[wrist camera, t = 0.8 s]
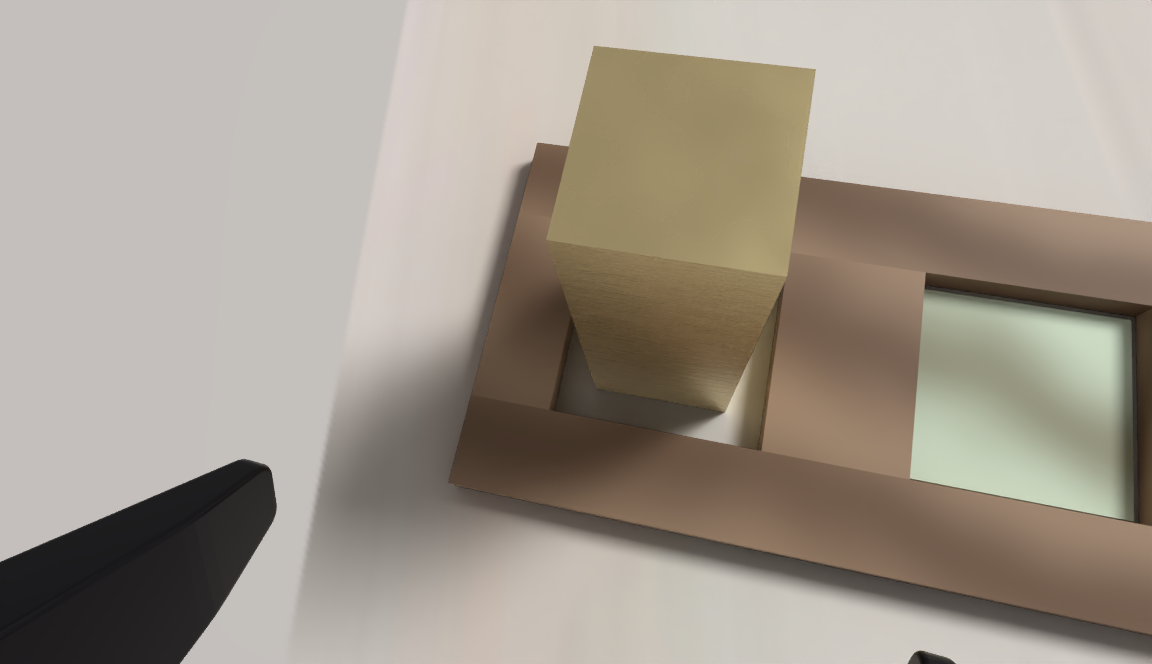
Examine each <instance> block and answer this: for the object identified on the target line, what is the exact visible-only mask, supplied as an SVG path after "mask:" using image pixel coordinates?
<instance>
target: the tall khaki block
mask: <svg viewBox="0 0 1152 664" xmlns="http://www.w3.org/2000/svg"><path fill="white" fill-rule="evenodd" d="M815 71H816V69H807V68H798V67H788V66H779V65H770V64H760V63H751V62H741V61H732V60H722V59H713V58H703V57H694V56H684V55H675V54H665V53H656V52H646V51H637V50H627V49H618V48H609V47H599V46H594V48H593V52H592V56H591V60H590V64H589V68H588V72H587V76H586V80H585V85H584V89H583V93H582V97H581V101H580V105H579V109H578V113H577V117H576V121H575V125H574V129H573V133H572V137H571V141H570V145H569V149H568V153H567V157H566V161H565V165H564V170H563V174H562V178H561V182H560V186H559V190H558V194H557V198H556V202H555V206H554V210H553V214H552V218H551V222H550V226H549V230H548V234H547V238H546V241H547V244H548V247H549V250H550V253H551V256H552V259H553V262H554V265H555V268H556V271H557V274H558V277H559V280H560V283H561V286H562V289H563V292H564V295H565V298H566V301H567V304H568V307H569V310H570V313H571V316H572V319H573V322H574V325H575V328H576V331H577V334H578V337H579V340H580V343H581V346H582V349H583V352H584V355H585V358H586V361H587V364H588V367H589V370H590V373H591V376H592V379H593V382H594V385H595V388H598V389H603V390H608V391H614V392H619V393H624V394H630V395H635V396H641V397H646V398H651V399H657V400H662V401H667V402H673V403H678V404H684V405H689V406H694V407H700V408H705V409H710V410H716V411H721V412H725V411H726V409H727V407H728V404H729V402H730V400H731V398H732V396H733V393H734V391H735V389H736V387H737V385H738V383H739V380H740V378H741V376H742V374H743V372H744V370H745V367H746V365H747V363H748V361H749V359H750V357H751V354H752V352H753V350H754V348H755V346H756V343H757V341H758V339H759V337H760V335H761V333H762V330H763V328H764V326H765V324H766V322H767V320H768V317H769V315H770V313H771V311H772V309H773V307H774V304H775V302H776V300H777V298H778V296H779V293H780V291H781V289H782V287H783V285H784V283H785V280H786V278H787V274H788V267H789V260H790V253H791V245H792V238H793V231H794V223H795V216H796V209H797V202H798V194H799V187H800V180H801V173H802V165H803V158H804V151H805V144H806V136H807V129H808V122H809V114H810V107H811V100H812V93H813V85H814V78H815Z"/></svg>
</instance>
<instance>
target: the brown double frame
mask: <svg viewBox="0 0 1152 664" xmlns="http://www.w3.org/2000/svg"><path fill="white" fill-rule="evenodd" d="M568 149H569V147H567V146H560V145H552V144H544V143H537V146H536V150H535V154H534V158H533V161H532V165H531V169H530V173H529V177H528V180H527V184H526V188H525V192H524V196H523V199H522V203H521V207H520V211H519V215H518V219H517V222H516V226H515V230H514V234H513V238H512V241H511V245H510V249H509V253H508V257H507V260H506V264H505V268H504V272H503V276H502V279H501V283H500V287H499V291H498V295H497V299H496V302H495V306H494V310H493V314H492V318H491V321H490V325H489V329H488V333H487V337H486V340H485V344H484V348H483V352H482V356H481V359H480V363H479V367H478V371H477V375H476V379H475V382H474V386H473V390H472V394H471V398H470V401H469V405H468V409H467V413H466V417H465V420H464V424H463V428H462V432H461V436H460V439H459V443H458V447H457V451H456V455H455V459H454V462H453V466H452V470H451V474H450V478H449V481H448V483H451V484H453V485H456V486H460V487H465V488H469V489H474V490H478V491H483V492H488V493H492V494H497V495H502V496H506V497H511V498H515V499H520V500H525V501H529V502H534V503H539V504H543V505H548V506H553V507H557V508H562V509H566V510H571V511H576V512H580V513H585V514H590V515H594V516H599V517H603V518H608V519H613V520H617V521H622V522H627V523H631V524H636V525H640V526H645V527H650V528H654V529H659V530H664V531H668V532H673V533H677V534H682V535H687V536H691V537H696V538H701V539H705V540H710V541H714V542H719V543H724V544H728V545H733V546H738V547H742V548H747V549H751V550H756V551H761V552H765V553H770V554H775V555H779V556H784V557H788V558H793V559H798V560H802V561H807V562H812V563H816V564H821V565H826V566H830V567H835V568H839V569H844V570H849V571H853V572H858V573H863V574H867V575H872V576H876V577H881V578H886V579H890V580H895V581H900V582H904V583H909V584H913V585H918V586H923V587H927V588H932V589H937V590H941V591H946V592H950V593H955V594H960V595H964V596H969V597H974V598H978V599H983V600H987V601H992V602H997V603H1001V604H1006V605H1011V606H1015V607H1020V608H1024V609H1029V610H1034V611H1038V612H1043V613H1048V614H1052V615H1057V616H1061V617H1066V618H1071V619H1075V620H1080V621H1085V622H1089V623H1094V624H1098V625H1103V626H1108V627H1112V628H1117V629H1122V630H1126V631H1131V632H1136V633H1140V634H1145V635H1149V636H1152V222H1145V221H1138V220H1130V219H1122V218H1114V217H1107V216H1099V215H1091V214H1084V213H1076V212H1068V211H1060V210H1053V209H1045V208H1037V207H1030V206H1022V205H1014V204H1007V203H999V202H991V201H983V200H976V199H968V198H960V197H953V196H945V195H937V194H929V193H922V192H914V191H906V190H899V189H891V188H883V187H876V186H868V185H860V184H852V183H845V182H837V181H829V180H822V179H814V178H806V177H801V180H800V187H799V194H798V202H797V209H796V216H795V223H794V231H793V238H792V245H791V253H790V260H789V267H788V274H787V278H786V280H785V283H784V285H783V287H782V289H781V291H780V296H779V303H778V310H777V318H776V325H775V332H774V339H773V346H772V353H771V361H770V368H769V375H768V382H767V389H766V396H765V404H764V411H763V418H762V425H761V432H760V439H759V446H758V450H754V449H749V448H744V447H739V446H733V445H728V444H723V443H718V442H713V441H708V440H702V439H697V438H692V437H687V436H682V435H677V434H671V433H666V432H661V431H656V430H651V429H645V428H640V427H635V426H630V425H625V424H620V423H614V422H609V421H604V420H599V419H594V418H589V417H583V416H578V415H573V414H568V413H563V412H557V411H554V410H555V406H556V401H557V397H558V392H559V388H560V384H561V379H562V375H563V370H564V366H565V361H566V357H567V353H568V348H569V344H570V339H571V335H572V331H573V326H574V322H573V319H572V316H571V313H570V310H569V307H568V304H567V301H566V298H565V295H564V292H563V289H562V286H561V283H560V280H559V277H558V274H557V271H556V268H555V265H554V262H553V259H552V256H551V253H550V250H549V247H548V244H547V241H546V238H547V234H548V230H549V226H550V222H551V218H552V214H553V210H554V206H555V202H556V198H557V194H558V190H559V186H560V182H561V178H562V174H563V170H564V165H565V161H566V157H567V153H568ZM925 285H928V286H935V287H942V288H948V289H955V290H962V291H968V292H975V293H982V294H988V295H995V296H1002V297H1008V298H1015V299H1022V300H1028V301H1035V302H1042V303H1049V304H1055V305H1062V306H1069V307H1075V308H1082V309H1089V310H1095V311H1102V312H1109V313H1115V314H1122V315H1129V316H1135V317H1136V345H1137V410H1138V476H1139V524H1137V523H1132V522H1134V476H1133V400H1132V324H1131V320H1127V319H1120V318H1113V317H1107V316H1100V315H1093V314H1087V313H1080V312H1073V311H1067V310H1060V309H1054V308H1047V307H1040V306H1034V305H1027V304H1020V303H1014V302H1007V301H1001V300H994V299H987V298H981V297H974V296H967V295H961V294H954V293H948V292H941V291H934V290H928V289H924V288H925ZM910 479H913V480H910ZM915 480H918V481H915ZM920 481H923V482H920ZM925 482H929V483H925ZM930 483H934V484H930ZM935 484H939V485H935ZM940 485H944V486H940ZM946 486H949V487H946ZM951 487H954V488H951ZM956 488H960V489H956ZM961 489H965V490H961ZM966 490H970V491H966ZM972 491H975V492H972ZM977 492H980V493H977ZM982 493H985V494H982ZM987 494H991V495H987ZM992 495H996V496H992ZM997 496H1001V497H997ZM1003 497H1006V498H1003ZM1008 498H1011V499H1008ZM1013 499H1017V500H1013ZM1018 500H1022V501H1018ZM1023 501H1027V502H1023ZM1028 502H1032V503H1028ZM1034 503H1037V504H1034ZM1039 504H1042V505H1039ZM1044 505H1048V506H1044ZM1049 506H1053V507H1049ZM1054 507H1058V508H1054ZM1059 508H1063V509H1059ZM1065 509H1068V510H1065ZM1070 510H1074V511H1070ZM1075 511H1079V512H1075ZM1080 512H1084V513H1080ZM1085 513H1089V514H1085ZM1091 514H1094V515H1091ZM1096 515H1099V516H1096ZM1101 516H1105V517H1101ZM1106 517H1110V518H1106ZM1111 518H1115V519H1111ZM1116 519H1120V520H1116ZM1122 520H1125V521H1122ZM1127 521H1130V522H1127Z"/></svg>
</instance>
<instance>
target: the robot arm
mask: <svg viewBox="0 0 1152 664" xmlns="http://www.w3.org/2000/svg"><path fill="white" fill-rule="evenodd" d="M276 508H277V505H276V498H275V491H274V484H273V478H272V472H271V470H270V468H269V467H268V466H267V465H265V464H261V463H258V462H254V461H251V460H246V459H241V460H238V461H235V462H232V463H230V464H228V465H225V466H223V467H221V468H218V469H216V470H214V471H211V472H209V473H207V474H204V475H202V476H200V477H197V478H195V479H193V480H190V481H188V482H186V483H183V484H181V485H179V486H176V487H174V488H172V489H169V490H167V491H165V492H162V493H160V494H158V495H155V496H153V497H151V498H148V499H146V500H144V501H141V502H139V503H137V504H134V505H132V506H130V507H128V508H125V509H123V510H121V511H118V512H116V513H114V514H111V515H109V516H106V517H104V518H102V519H99V520H97V521H95V522H93V523H90V524H88V525H86V526H83V527H81V528H78V529H76V530H74V531H71V532H69V533H67V534H65V535H62V536H60V537H57V538H55V539H53V540H50V541H48V542H46V543H43V544H41V545H39V546H36V547H34V548H32V549H30V550H27V551H25V552H22V553H20V554H18V555H16V556H13V557H11V558H8V559H6V560H4V561H1V562H0V664H180V663H181V661H182V660H183V659H184V657H185V656H186V655H187V653H188V652H189V651H190V649H191V648H192V647H193V645H194V644H195V643H196V641H197V640H198V639H199V637H200V636H201V635H202V633H203V632H204V630H205V629H206V628H207V627H208V625H209V624H210V622H211V621H212V620H213V618H214V617H215V615H216V614H217V612H218V611H219V609H220V608H221V606H222V605H223V603H224V602H225V600H226V598H227V597H228V595H229V593H230V592H231V590H232V588H233V587H234V585H235V584H236V582H237V580H238V579H239V577H240V575H241V574H242V572H243V570H244V569H245V567H246V565H247V563H248V562H249V560H250V559H251V557H252V555H253V554H254V552H255V550H256V549H257V547H258V546H259V544H260V542H261V541H262V539H263V537H264V536H265V534H266V532H267V531H268V529H269V527H270V526H271V524H272V522H273V520H274V517H275V514H276ZM908 664H955V663H954V662H953V661H952V660H950V659H948V658H946V657H943V656H939V655H936V654H932V653H928V652H925V651H917V652H915V653H914V654H913V655H912V657H911V658H910V660H909V662H908Z"/></svg>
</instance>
